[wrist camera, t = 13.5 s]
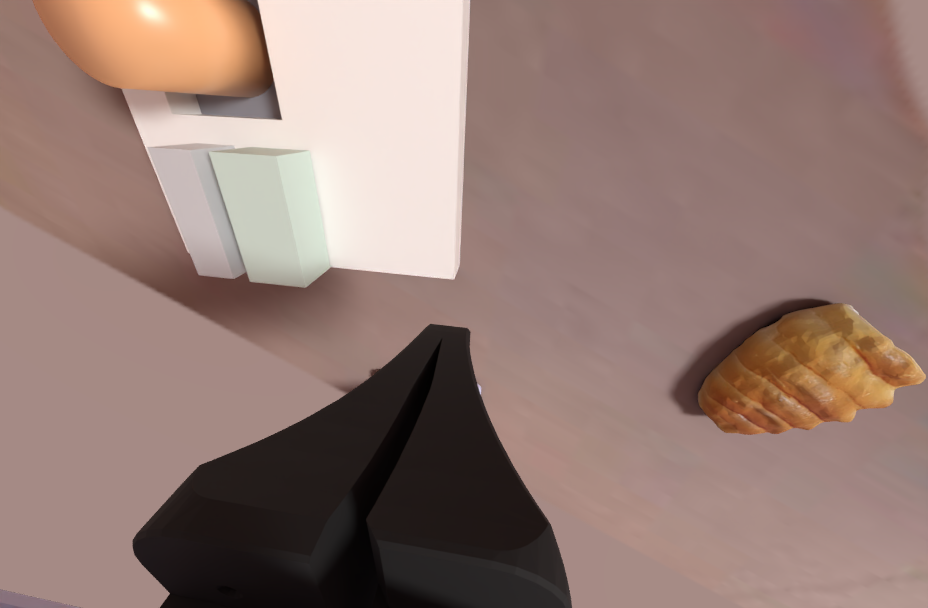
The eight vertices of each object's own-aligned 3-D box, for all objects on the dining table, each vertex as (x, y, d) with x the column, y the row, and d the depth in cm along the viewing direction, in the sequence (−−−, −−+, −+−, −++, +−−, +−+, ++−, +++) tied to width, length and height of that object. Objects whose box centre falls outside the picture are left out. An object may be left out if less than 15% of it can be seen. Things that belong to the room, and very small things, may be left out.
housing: (459, 265, 19) (445, 301, 16) (214, 241, 21) (146, 269, 17) (474, -113, 12) (454, -222, 8) (91, -106, 14) (-79, -195, 10)
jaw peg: (285, 100, 16) (175, 92, 11) (210, 94, 16) (70, 84, 11) (264, -9, 14) (119, -82, 9) (180, -13, 14) (-7, -85, 9)
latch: (330, 267, 18) (305, 287, 16) (280, 262, 19) (249, 281, 17) (309, 150, 15) (275, 156, 13) (250, 146, 16) (208, 151, 14)
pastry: (734, 428, 23) (770, 480, 20) (666, 379, 22) (693, 425, 19) (891, 347, 19) (972, 396, 15) (817, 280, 17) (888, 317, 14)
